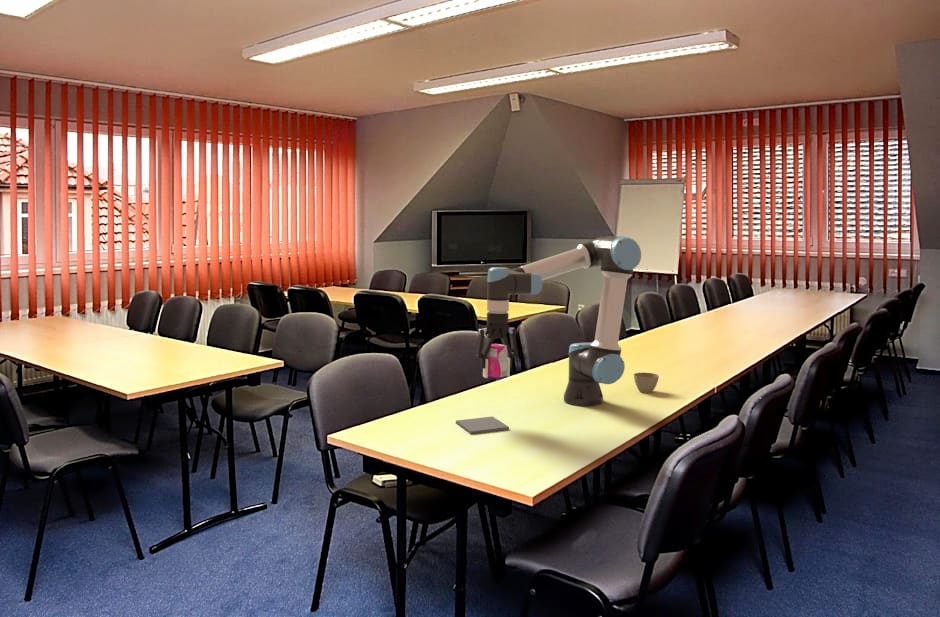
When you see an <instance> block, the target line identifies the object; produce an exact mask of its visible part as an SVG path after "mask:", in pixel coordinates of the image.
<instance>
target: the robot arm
mask: <svg viewBox="0 0 940 617" xmlns="http://www.w3.org/2000/svg"><path fill="white" fill-rule="evenodd" d="M641 259H642V250H641V247H640V245H639V244H638V242H637V241H635V240H634V239H633V238H631V237H627V236H624V235H623V236H617V235H616V236H611V235H610V236H609V235H604V236H600V237H596V238H594V239H592V240H589V241H586V242H584V243H580V244H578V245H577V246H576V248H574V249H570V250H567V251H564V252H561V253H559V254H556V255H552V256H548V257H546V258H544V259H543V258H541V259H539V260H537V261H533V262H531V263H527V264H525V265H521V266H519V267H515V268H511V269H510V268H508V267H499V266H498V267H497V266H495V267H490V268H489V269H488V271H487V279H486V282H487V286H486V287H487V288H486V290H487V298H486V300H487V301H486V310H487V311H488V312H487V313H486V326H485V328H484V327H483V328H478V329H477V332H478V333H477V334H478V338H477V344H476V350H475V357H476V358H478V359H480V368H481V369H482V377H483V378H485V379H489V378H488V359H486V357H487V355H488V352H489V350H490V347H491V345H492V344H493V342H494V341H495V340H497V339H499V340H500V341H501V344H502V345H506V346H507V351H508V361H507V362H508V365H507V377H506V378H510V376H511V374H510V372H511V367H513V359H514V357H517V356H518V354H519V352H518V347H517V346H518V345H517V336H516V335H517V328H515V327H513V326H512V327H510V325H509V311H510V308H509V307H510V304H509V303H510V295H511V296H513V295H529V296H531V295H537V294H540V293H541V291H542V288H543V281H546V280H548V279H551V278H555V277H558V276H560V275H563V274H566V273H569V272H574V271H576V270H579V269H581V268H583V269H585V270H587V269H590V268H595V267H600V273H601V274H602V275H603V280H602V288H601V292H600V293H601V294H600V299H599V300H600V301H599V309H598V315H597V321H596V330H595V335H594V340H593V341H592V342H577V343H571V344H570V345H569V347H568V348H569V349H568V381H567V385H566V388H565V391H564V394H563V401H564V403H567V404H569V405H573V406H581V407H582V406H583V407H584V406H586V407H587V406H590V407H591V406H597V405H601V404H602V403H604V395H603V392H602V388H601V385H600V384H604V385H612V384H615V383H616V382H617V381H619V380H620V379H621V378H622V376H623V375H624V372H625V368H626V367H625V361H624V359H623V358H622V357H621V354H622V347H621V346H620V345H619V340H620V333H621V326H622V318H623V312H624V304H625V299H626V293H627V291H626V290H627V284H628V280H629V279H631V277H632V276H633V274H634V272H633V271H634V269H636V268H637V267H638V265H640V262H641ZM486 333H487V334H488V335H487V337H486V341H485V335H486ZM507 333H509V341H510V344H509V341H508V336H507ZM484 341H485V342H484Z"/></svg>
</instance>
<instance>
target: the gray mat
mask: <svg viewBox="0 0 940 617" xmlns="http://www.w3.org/2000/svg"><path fill="white" fill-rule="evenodd" d="M455 424H456V425H457V426H459V427H460V428H462V429H463V430H464V431H465V432H467V433H468V434H469V435H478V434H484V433H493V432H501V431H509V430H510V426H508V425H507V424H506V423H504V422H502V421H500V419H498V418H496V417H494V416H485V417H483V416H482V417H476V418H475V417H473V418H467V419H459V420H458V419H457V420H455Z"/></svg>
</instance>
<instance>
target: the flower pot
mask: <svg viewBox="0 0 940 617" xmlns="http://www.w3.org/2000/svg"><path fill="white" fill-rule="evenodd" d="M633 379H634V383H635V386H636V388H637V390H638V391H639V393H640V394H652V393H653V392H654V391H655V389H656V386H657V384H658V382H659V374H657V373H652V372H635V373H634V374H633Z"/></svg>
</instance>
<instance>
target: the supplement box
mask: <svg viewBox="0 0 940 617" xmlns="http://www.w3.org/2000/svg"><path fill="white" fill-rule="evenodd" d="M486 359H488V378H487V379H492V380H502V379H504V378H508V377H507V365H508V362H507V361H508V351H507V346H506V345H503V343H500V344H499V343H492V345H491V347H490V350H489V352H488V355H487V357H486Z"/></svg>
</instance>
